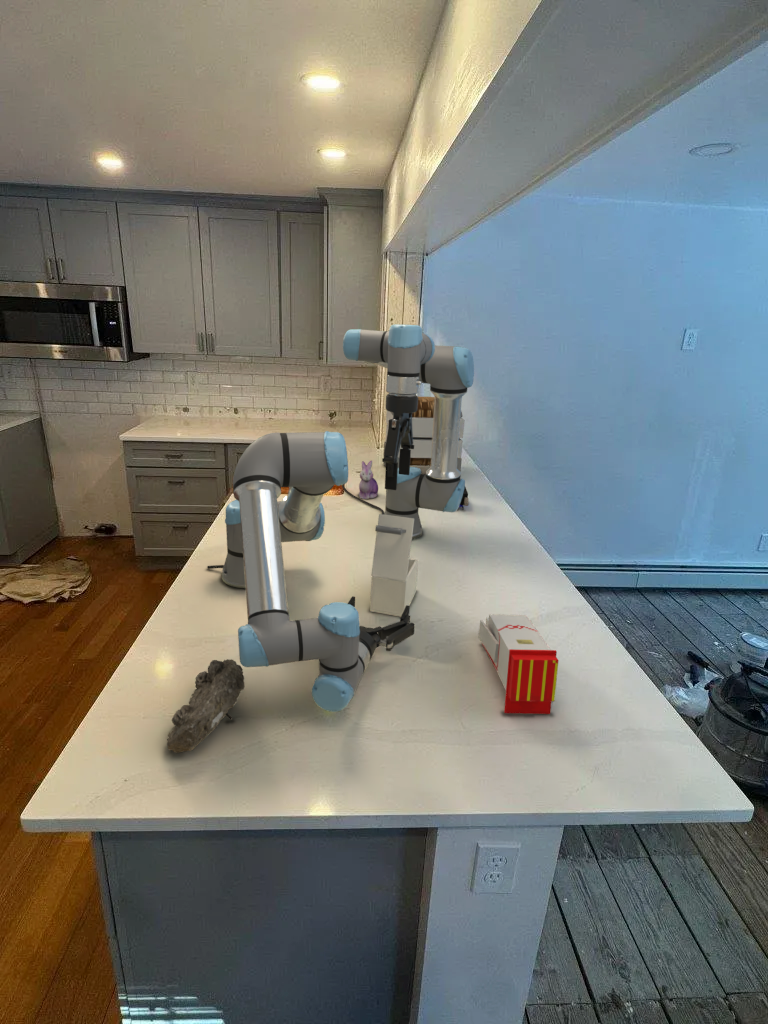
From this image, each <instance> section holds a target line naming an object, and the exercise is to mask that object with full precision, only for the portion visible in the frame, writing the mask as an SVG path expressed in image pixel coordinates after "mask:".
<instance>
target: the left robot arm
mask: <svg viewBox="0 0 768 1024" xmlns="http://www.w3.org/2000/svg"><path fill="white" fill-rule="evenodd" d="M348 481H349V461H348V451H347V443H346V440H345V436H344V435H343V434H342V433H340V432H338V431H328V430H325V431H324V432H323V431H321V432H320V431H318V432H316V431H315V432H312V431H311V432H270V433H266V434H264V435H262V436H260V437H258V438H256V439H255V440H254V441H253V442H251V443H250V444H249V445H248V446H247V447H246V448H245V450H244V451H243V453H242V454H241V456H240V458H239V459H238V462H237V464H236V466H235V469H234V473H233V478H232V491H233V497H234V500H232V501H231V502H229V503H228V504H227V505H226V508H225V519H224V523H225V527H226V529H225V530H226V531H225V532H226V548H227V549H226V551H227V552H226V557H225V560H224V564H215V565H207V566H206V568H207V569H208V570H212V569H222V570H221V571H222V572H221V579H222V582H223V583H224V584H226V585H227V586H230V587H232V588H237V589H245V599H246V600H245V601H246V614H247V624H245V625H241V626H239V627H238V629H237V637H238V638H237V639H238V656H239V662H240V665H241V667H244V668H257V667H266V668H268V667H270V666H276V665H283V664H290V663H299V662H307V661H314V660H315V661H316V660H318V675H317V677H316V678H315V680H314V682H313V685H312V687H311V697H312V700H313V702H314V703H315V704H316V706H318V707H319V708H320V709H322V710H324V711H327V712H330V713H331V712H332V713H335V712H337V713H338V712H340V711H343V710H344V709H346V707H347V706H348V705H349V703H350V702H351V700H352V699H353V698H354V696H355V693H356V691H357V688H358V687H359V684H360V682H361V680H362V678H363V676H364V674H365V672H366V670H367V668H368V666H369V664H370V662H371V660H372V658H373V656H374V654H375V652H376V650H377V649H378V648H379V647H383V648H385V651H387V652H391V651H393V649H394V647H396V646H397V645H399V644H401V643H402V642H404V641H406V640H407V639H409V638H410V637H411V636H414V634H415V626H416V624H415V623H414V622H411V615H410V605H409V606H407V605H406V607H405V609H404V611H403V614H402V616H401V617H400V618H399V621H397V622H394V623H390V624H388V625H385V626H380V625H379V626H376V627H366V626H363V625H360V614H359V611H358V610H357V608H356V596H351V598H350V599H349V600H348V602H342V601H341V602H340V601H336V602H335V601H334V602H330V603H329V604H324V605H323V606H322V607H320V609H319V613H318V616H317V617H314V618H304V619H303V618H302V619H294V620H290V615H289V614H290V612H289V604H288V594H287V583H286V573H285V564H284V553H283V545H282V544H283V543H293V542H311V541H317V540H318V539H320V538H321V537H322V536H323V534H324V530H325V528H324V527H325V524H326V517H325V516H326V515H325V514H326V513H325V508H324V506H323V503H322V500H323V497H324V496H325V494H327V493H329V492H330V491H331V490H332V489H333V487H335V486H337V487H340V486H342V485H346V484H347V483H348ZM282 488H288V491H287V495H286V496H285V497H284V498H282V500H281V501H278V499H279V497H280V496H281V495H282Z"/></svg>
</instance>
